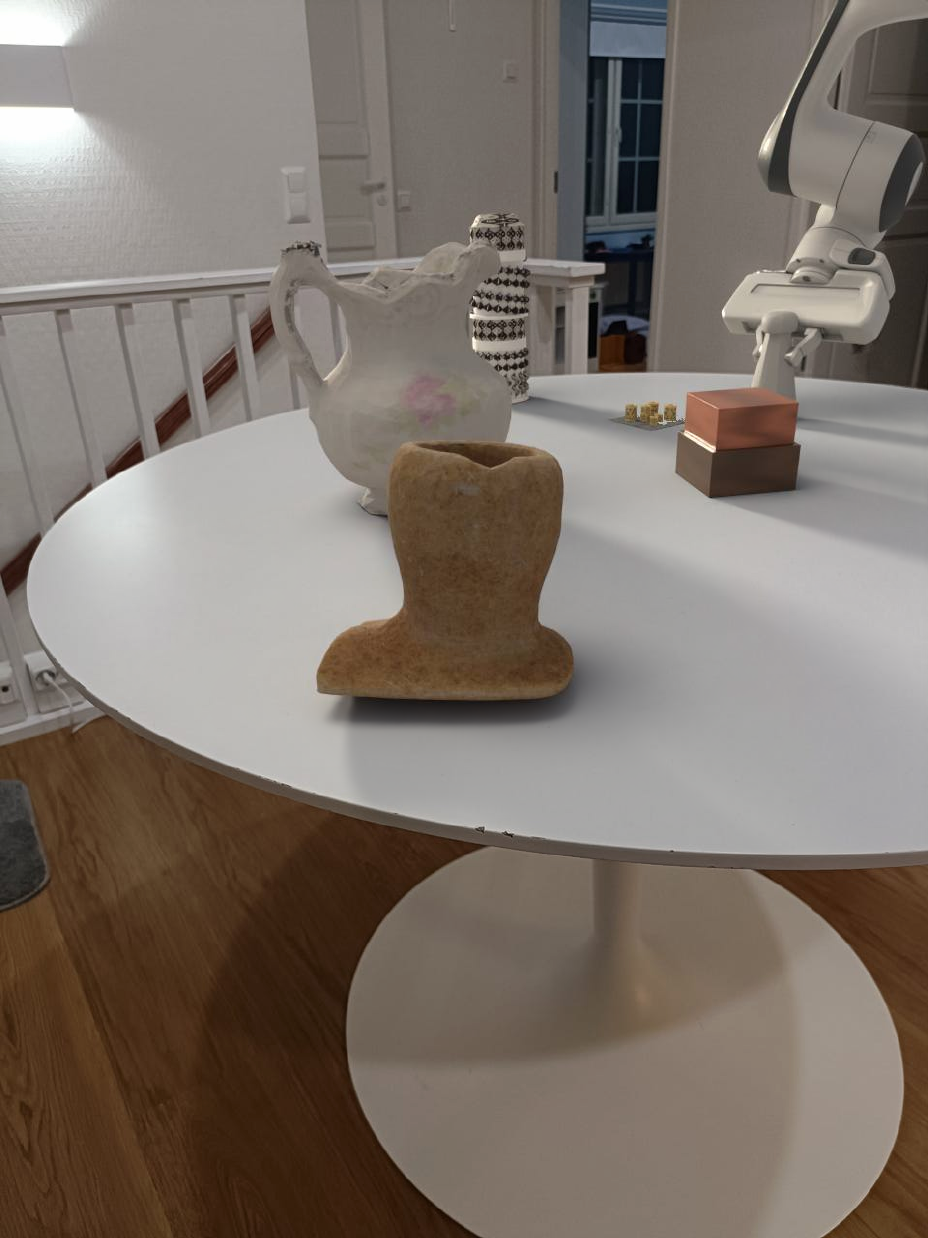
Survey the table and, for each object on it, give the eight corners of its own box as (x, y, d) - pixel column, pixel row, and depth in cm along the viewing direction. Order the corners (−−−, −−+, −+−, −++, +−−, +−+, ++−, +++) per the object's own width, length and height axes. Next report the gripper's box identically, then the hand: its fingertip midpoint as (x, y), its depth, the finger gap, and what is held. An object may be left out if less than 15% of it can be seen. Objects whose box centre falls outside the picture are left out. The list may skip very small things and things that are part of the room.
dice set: (622, 419, 116) (623, 405, 115) (651, 413, 118) (651, 399, 117) (650, 426, 112) (650, 411, 111) (678, 420, 114) (679, 405, 113)
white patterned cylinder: (464, 394, 134) (457, 214, 123) (523, 389, 136) (521, 211, 125) (475, 407, 126) (469, 215, 115) (538, 401, 128) (537, 212, 117)
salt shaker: (737, 418, 114) (746, 313, 108) (762, 410, 117) (771, 308, 112) (778, 425, 110) (789, 315, 104) (802, 416, 113) (814, 310, 108)
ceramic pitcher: (352, 563, 77) (333, 259, 65) (265, 494, 91) (236, 233, 79) (546, 511, 88) (561, 241, 75) (442, 456, 102) (440, 222, 89)
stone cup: (573, 632, 61) (576, 416, 54) (574, 726, 50) (578, 471, 44) (359, 630, 63) (337, 420, 56) (316, 720, 52) (283, 474, 46)
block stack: (754, 465, 95) (763, 385, 91) (795, 489, 87) (806, 403, 83) (675, 472, 94) (680, 391, 90) (708, 497, 86) (716, 410, 82)
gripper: (743, 252, 116) (694, 338, 115) (898, 254, 102) (845, 353, 101) (758, 284, 121) (711, 368, 119) (909, 291, 107) (858, 386, 105)
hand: (774, 361), depth 110 cm, fingers closed on salt shaker, 3 cm apart
